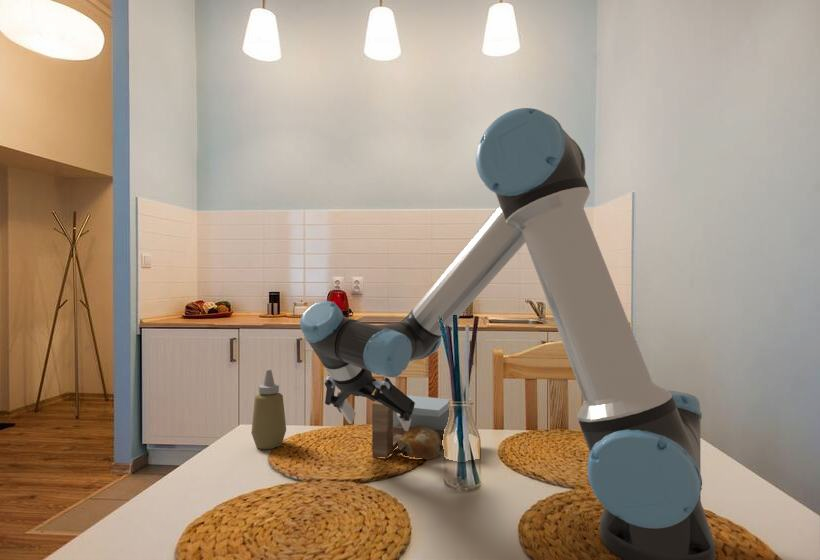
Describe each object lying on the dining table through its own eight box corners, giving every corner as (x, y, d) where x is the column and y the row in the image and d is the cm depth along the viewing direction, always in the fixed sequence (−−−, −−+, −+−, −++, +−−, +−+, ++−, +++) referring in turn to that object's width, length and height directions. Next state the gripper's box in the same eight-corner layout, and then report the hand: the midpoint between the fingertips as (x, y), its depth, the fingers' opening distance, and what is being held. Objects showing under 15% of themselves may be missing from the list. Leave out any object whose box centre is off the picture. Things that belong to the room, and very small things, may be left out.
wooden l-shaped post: (433, 466, 102) (432, 409, 102) (370, 457, 107) (370, 403, 107) (452, 445, 115) (452, 395, 115) (395, 437, 120) (395, 389, 120)
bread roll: (434, 478, 105) (450, 445, 105) (391, 458, 105) (407, 424, 105) (433, 461, 115) (447, 430, 115) (394, 442, 115) (408, 412, 115)
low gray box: (438, 457, 107) (438, 410, 107) (373, 448, 113) (373, 403, 113) (452, 442, 116) (452, 399, 116) (391, 435, 122) (391, 393, 122)
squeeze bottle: (243, 449, 112) (243, 372, 112) (264, 438, 120) (264, 366, 120) (274, 453, 110) (274, 374, 110) (292, 441, 117) (292, 368, 117)
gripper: (412, 354, 91) (436, 412, 105) (300, 346, 100) (336, 401, 114) (401, 388, 86) (428, 445, 100) (284, 377, 95) (324, 430, 109)
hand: (379, 422), depth 107 cm, fingers open, 13 cm apart
